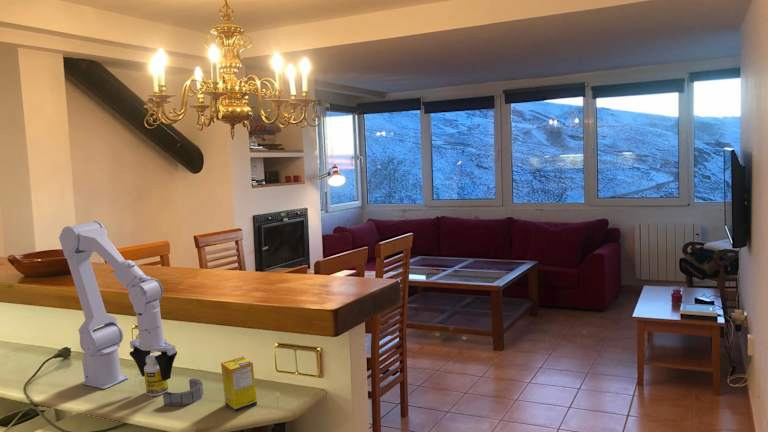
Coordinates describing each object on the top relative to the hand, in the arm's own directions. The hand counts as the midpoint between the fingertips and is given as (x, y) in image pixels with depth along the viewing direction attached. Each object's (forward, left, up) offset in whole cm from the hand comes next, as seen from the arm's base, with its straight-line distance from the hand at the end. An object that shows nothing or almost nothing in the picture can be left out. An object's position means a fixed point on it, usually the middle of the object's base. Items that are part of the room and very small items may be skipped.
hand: (156, 377), depth 163 cm
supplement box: (+26, +2, -4) cm, 26 cm away
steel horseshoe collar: (+11, 0, -4) cm, 12 cm away
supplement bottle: (0, 0, -4) cm, 4 cm away
